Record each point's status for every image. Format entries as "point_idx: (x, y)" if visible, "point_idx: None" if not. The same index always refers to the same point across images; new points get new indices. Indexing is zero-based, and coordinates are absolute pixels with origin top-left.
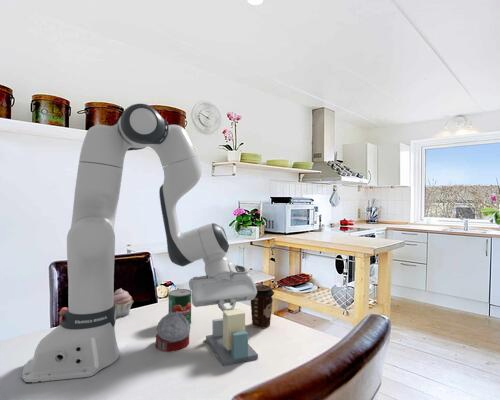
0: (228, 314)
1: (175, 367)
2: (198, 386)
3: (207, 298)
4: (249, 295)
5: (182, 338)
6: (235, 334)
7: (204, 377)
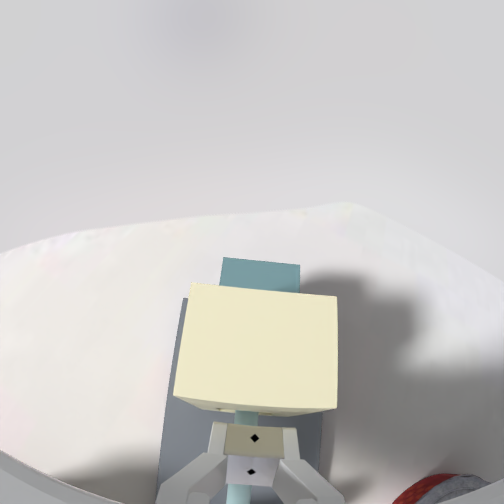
0: (324, 314)
1: (450, 368)
2: (404, 255)
3: (477, 500)
4: (1, 451)
5: (432, 494)
6: (288, 274)
7: (386, 284)
